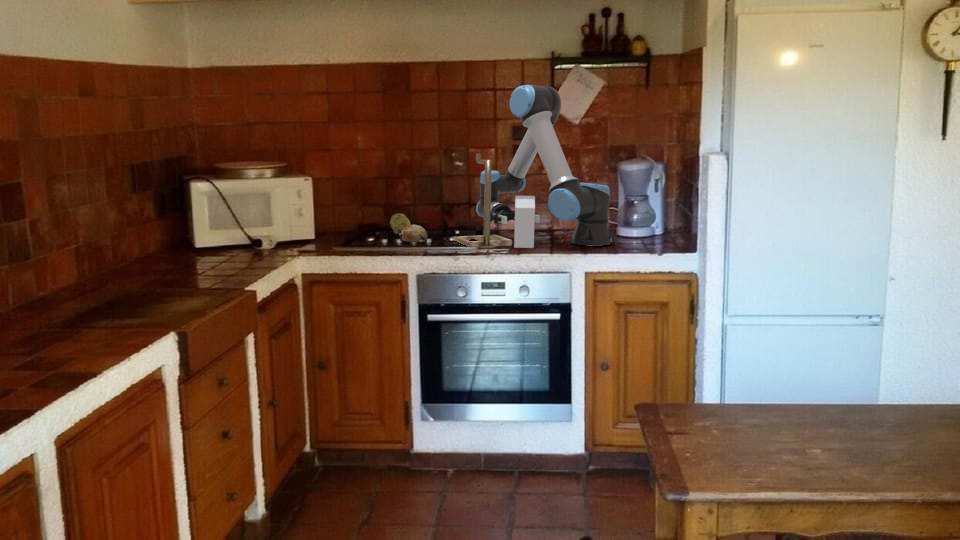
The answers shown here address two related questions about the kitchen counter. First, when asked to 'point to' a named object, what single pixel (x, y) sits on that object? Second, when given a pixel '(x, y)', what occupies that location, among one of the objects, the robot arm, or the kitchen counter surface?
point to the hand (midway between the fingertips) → (522, 220)
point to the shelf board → (494, 240)
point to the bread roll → (413, 234)
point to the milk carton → (524, 221)
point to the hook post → (486, 201)
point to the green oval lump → (399, 222)
